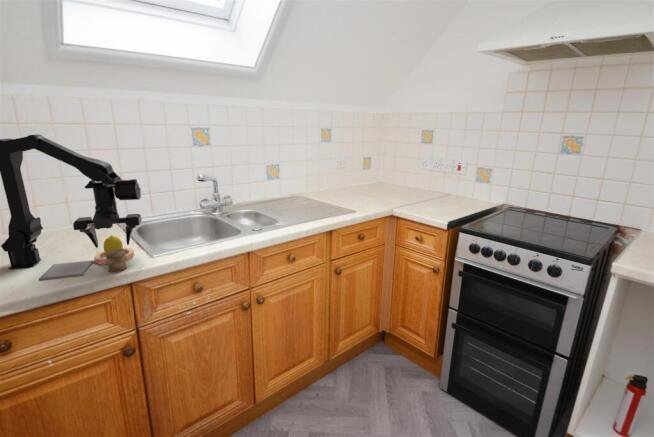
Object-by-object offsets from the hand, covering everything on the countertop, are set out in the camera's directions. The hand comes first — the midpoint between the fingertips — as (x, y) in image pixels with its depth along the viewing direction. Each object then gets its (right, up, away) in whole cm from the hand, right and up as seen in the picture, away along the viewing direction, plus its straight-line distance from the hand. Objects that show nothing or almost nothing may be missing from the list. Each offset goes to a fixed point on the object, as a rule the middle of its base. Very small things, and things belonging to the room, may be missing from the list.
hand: (112, 245), depth 119 cm
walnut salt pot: (+6, -7, -8) cm, 12 cm away
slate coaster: (-8, -7, -9) cm, 14 cm away
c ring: (0, -4, +1) cm, 4 cm away
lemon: (0, -4, +1) cm, 5 cm away
